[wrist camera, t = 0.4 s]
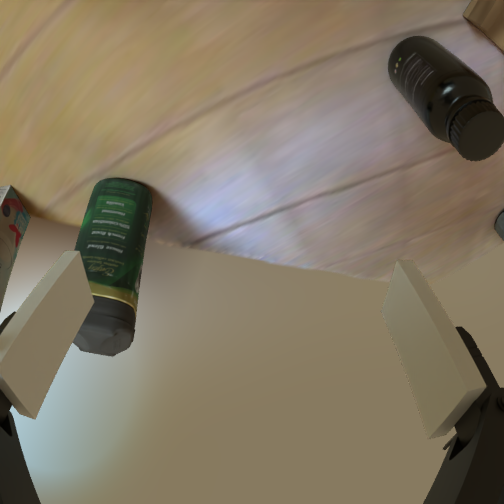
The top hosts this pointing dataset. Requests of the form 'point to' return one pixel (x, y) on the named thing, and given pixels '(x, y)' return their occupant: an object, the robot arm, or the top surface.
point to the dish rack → (488, 19)
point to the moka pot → (500, 225)
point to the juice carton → (10, 233)
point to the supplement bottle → (447, 97)
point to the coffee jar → (113, 263)
